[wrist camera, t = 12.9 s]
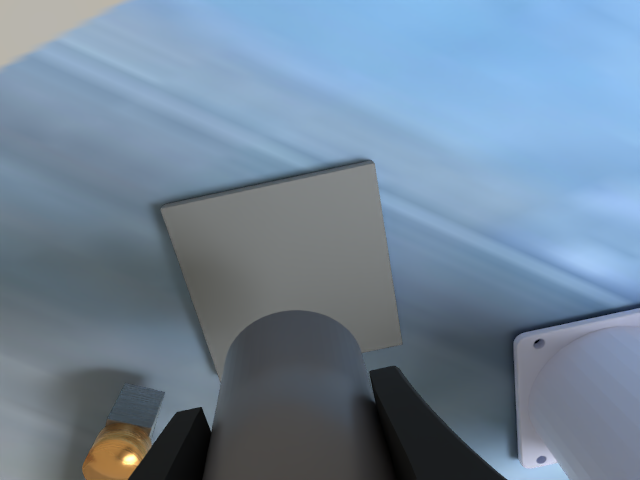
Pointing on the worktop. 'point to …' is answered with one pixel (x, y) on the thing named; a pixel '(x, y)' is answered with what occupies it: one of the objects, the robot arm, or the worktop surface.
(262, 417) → the plug
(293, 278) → the pad
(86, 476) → the grey long bar
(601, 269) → the worktop surface
